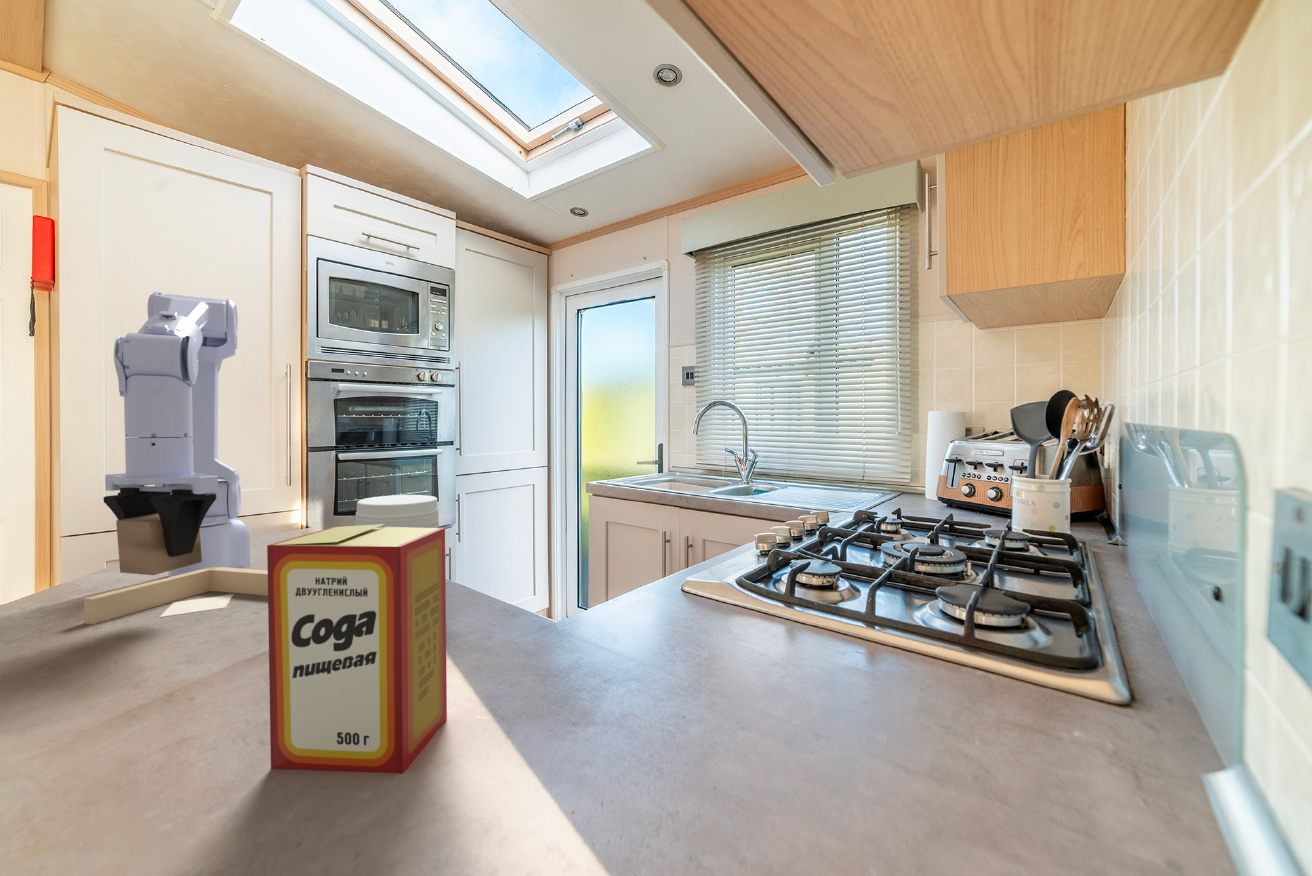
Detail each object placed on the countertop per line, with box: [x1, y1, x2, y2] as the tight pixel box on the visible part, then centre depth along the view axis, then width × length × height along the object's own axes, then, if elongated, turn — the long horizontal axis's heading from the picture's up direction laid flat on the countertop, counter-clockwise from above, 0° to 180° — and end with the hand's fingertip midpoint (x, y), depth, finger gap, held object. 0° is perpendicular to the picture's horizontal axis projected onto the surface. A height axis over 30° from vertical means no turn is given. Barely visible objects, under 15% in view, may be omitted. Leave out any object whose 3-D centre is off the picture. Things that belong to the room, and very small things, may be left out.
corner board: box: [83, 566, 268, 625], centre depth 64 cm, size 14×19×4 cm
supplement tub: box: [354, 494, 440, 528], centre depth 66 cm, size 10×10×15 cm
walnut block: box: [115, 513, 202, 576], centre depth 60 cm, size 5×5×6 cm
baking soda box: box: [266, 524, 448, 774], centre depth 39 cm, size 10×6×16 cm
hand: (162, 553), depth 60 cm, fingers closed on walnut block, 5 cm apart
